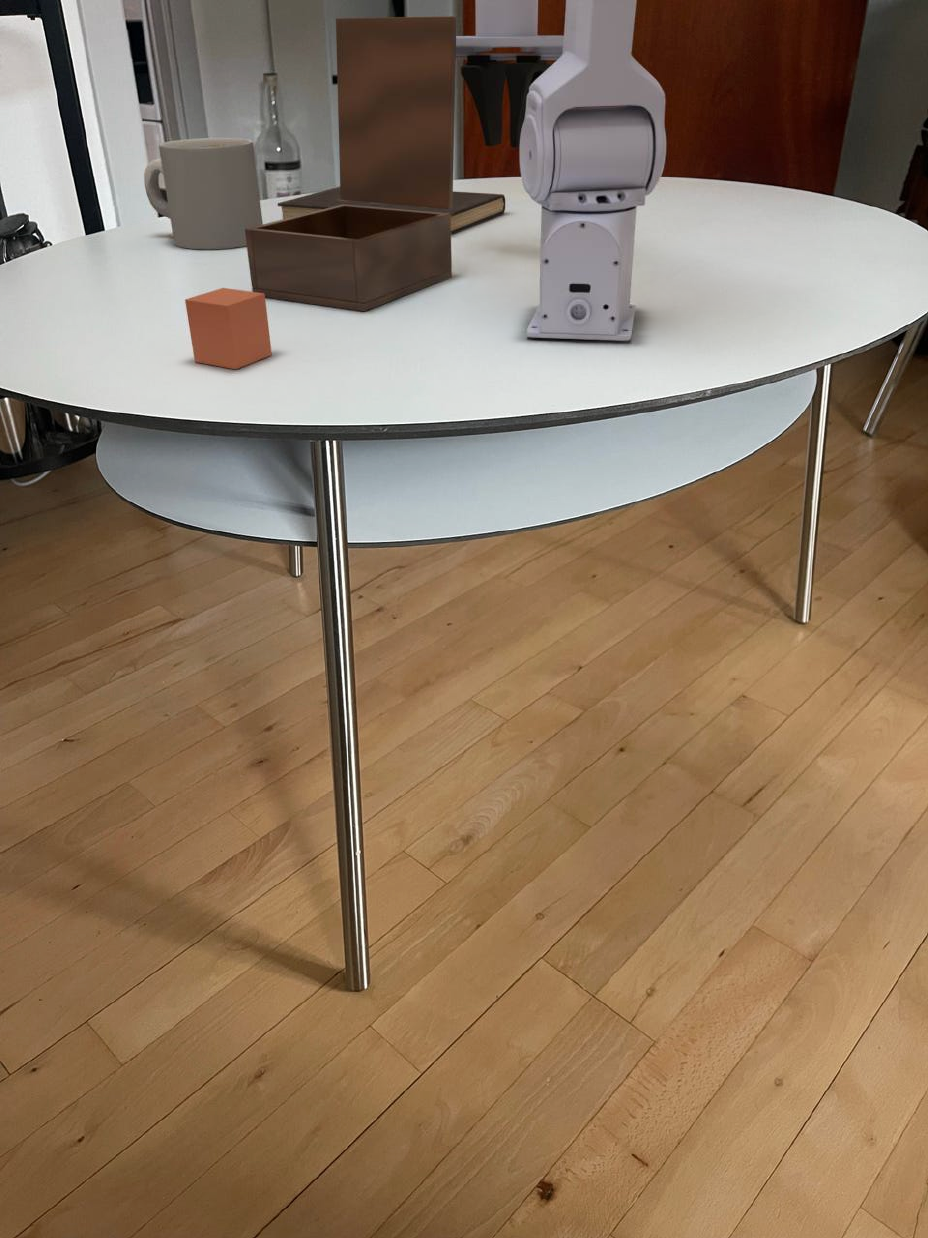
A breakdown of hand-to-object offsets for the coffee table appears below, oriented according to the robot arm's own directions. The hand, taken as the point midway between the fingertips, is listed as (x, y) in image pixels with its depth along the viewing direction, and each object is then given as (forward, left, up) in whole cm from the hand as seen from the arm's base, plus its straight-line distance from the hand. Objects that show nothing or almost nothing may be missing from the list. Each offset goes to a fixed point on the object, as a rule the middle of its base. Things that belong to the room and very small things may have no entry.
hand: (505, 145), depth 96 cm
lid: (-7, +9, +3) cm, 12 cm away
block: (-37, +15, -10) cm, 41 cm away
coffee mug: (+6, +35, -11) cm, 37 cm away
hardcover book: (+21, +17, -11) cm, 29 cm away
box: (-14, +12, -10) cm, 21 cm away
